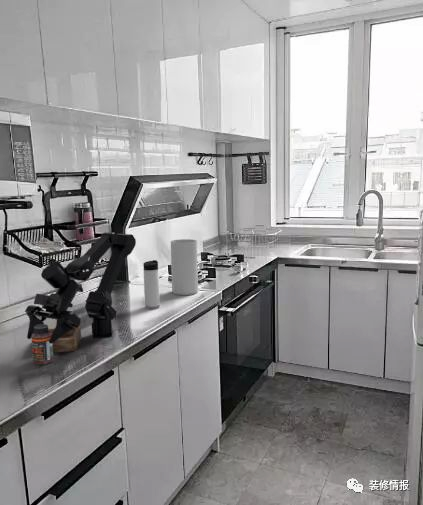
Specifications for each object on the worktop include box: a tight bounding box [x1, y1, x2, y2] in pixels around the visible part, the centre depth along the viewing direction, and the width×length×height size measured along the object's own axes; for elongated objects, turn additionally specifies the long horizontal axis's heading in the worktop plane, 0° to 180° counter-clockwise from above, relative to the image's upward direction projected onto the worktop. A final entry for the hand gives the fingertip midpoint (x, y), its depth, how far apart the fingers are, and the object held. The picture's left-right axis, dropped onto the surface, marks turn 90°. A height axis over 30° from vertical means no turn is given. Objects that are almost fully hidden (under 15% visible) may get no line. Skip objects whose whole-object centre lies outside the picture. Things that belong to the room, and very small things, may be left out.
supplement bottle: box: [30, 323, 54, 366], centre depth 140 cm, size 6×6×11 cm
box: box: [48, 325, 82, 353], centre depth 154 cm, size 13×13×4 cm
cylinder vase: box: [170, 238, 199, 296], centre depth 221 cm, size 12×12×25 cm
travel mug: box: [142, 259, 161, 310], centre depth 197 cm, size 6×7×20 cm
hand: (38, 340), depth 139 cm, fingers open, 9 cm apart
